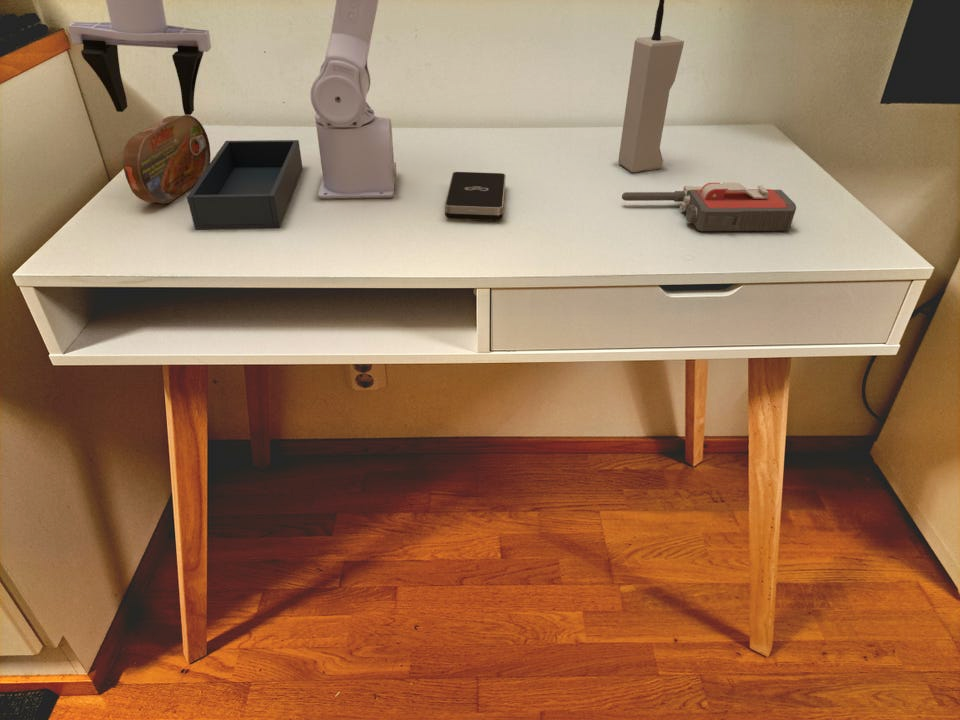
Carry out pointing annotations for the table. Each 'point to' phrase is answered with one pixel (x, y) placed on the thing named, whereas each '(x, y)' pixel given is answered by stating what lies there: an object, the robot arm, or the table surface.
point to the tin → (166, 158)
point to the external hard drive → (475, 196)
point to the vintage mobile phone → (648, 98)
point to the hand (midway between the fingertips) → (156, 110)
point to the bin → (247, 185)
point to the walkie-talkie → (728, 207)
